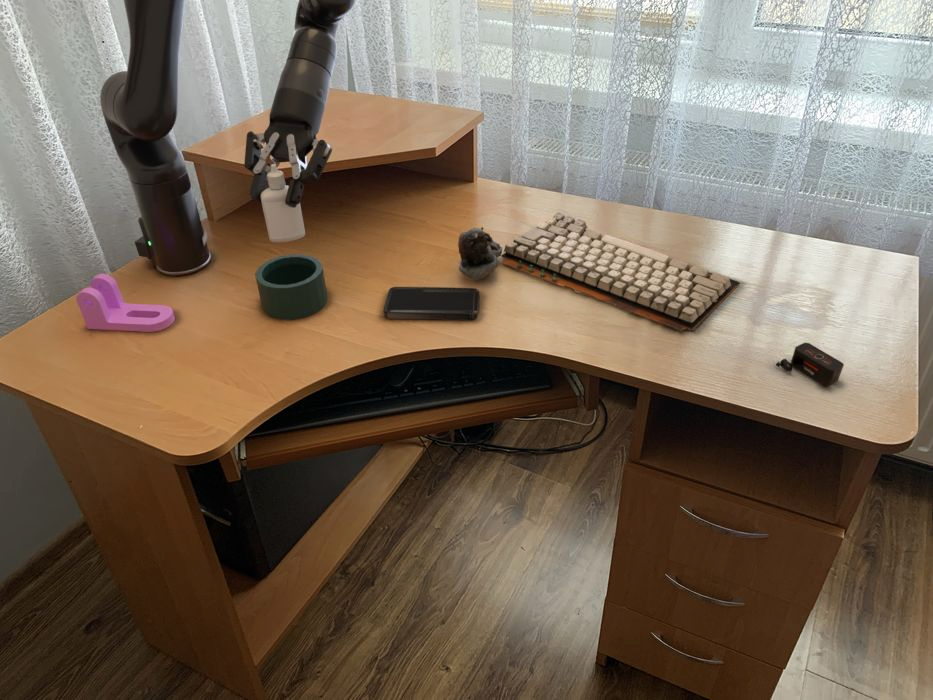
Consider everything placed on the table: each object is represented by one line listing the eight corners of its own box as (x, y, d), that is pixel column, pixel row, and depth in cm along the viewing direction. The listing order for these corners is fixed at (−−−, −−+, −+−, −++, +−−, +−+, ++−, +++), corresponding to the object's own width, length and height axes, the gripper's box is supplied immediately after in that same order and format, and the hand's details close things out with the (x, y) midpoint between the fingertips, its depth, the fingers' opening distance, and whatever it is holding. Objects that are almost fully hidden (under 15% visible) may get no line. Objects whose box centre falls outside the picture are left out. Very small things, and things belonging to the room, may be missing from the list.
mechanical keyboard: (740, 283, 123) (744, 266, 121) (689, 337, 111) (693, 319, 109) (551, 223, 142) (552, 207, 140) (491, 263, 131) (491, 247, 129)
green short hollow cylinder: (249, 313, 119) (242, 281, 116) (284, 280, 127) (278, 250, 124) (306, 324, 116) (300, 292, 113) (338, 290, 124) (333, 259, 121)
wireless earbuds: (796, 356, 106) (801, 338, 104) (839, 383, 101) (845, 364, 100) (774, 367, 105) (779, 349, 103) (816, 395, 100) (823, 376, 98)
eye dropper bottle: (299, 245, 113) (285, 172, 106) (265, 242, 114) (249, 169, 107) (309, 231, 117) (296, 160, 110) (276, 229, 118) (261, 158, 111)
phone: (476, 314, 115) (382, 312, 116) (476, 320, 116) (382, 318, 117) (479, 287, 121) (390, 285, 123) (479, 293, 122) (390, 291, 123)
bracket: (88, 328, 117) (72, 291, 113) (105, 309, 121) (91, 273, 117) (165, 332, 116) (152, 295, 111) (180, 312, 120) (168, 276, 116)
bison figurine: (465, 252, 134) (463, 201, 128) (503, 253, 133) (504, 202, 127) (456, 287, 124) (453, 234, 118) (497, 289, 123) (497, 235, 117)
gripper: (353, 113, 113) (326, 218, 112) (273, 105, 118) (246, 205, 116) (331, 89, 106) (302, 200, 105) (247, 81, 111) (218, 188, 109)
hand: (273, 202), depth 110 cm, fingers closed on eye dropper bottle, 5 cm apart
